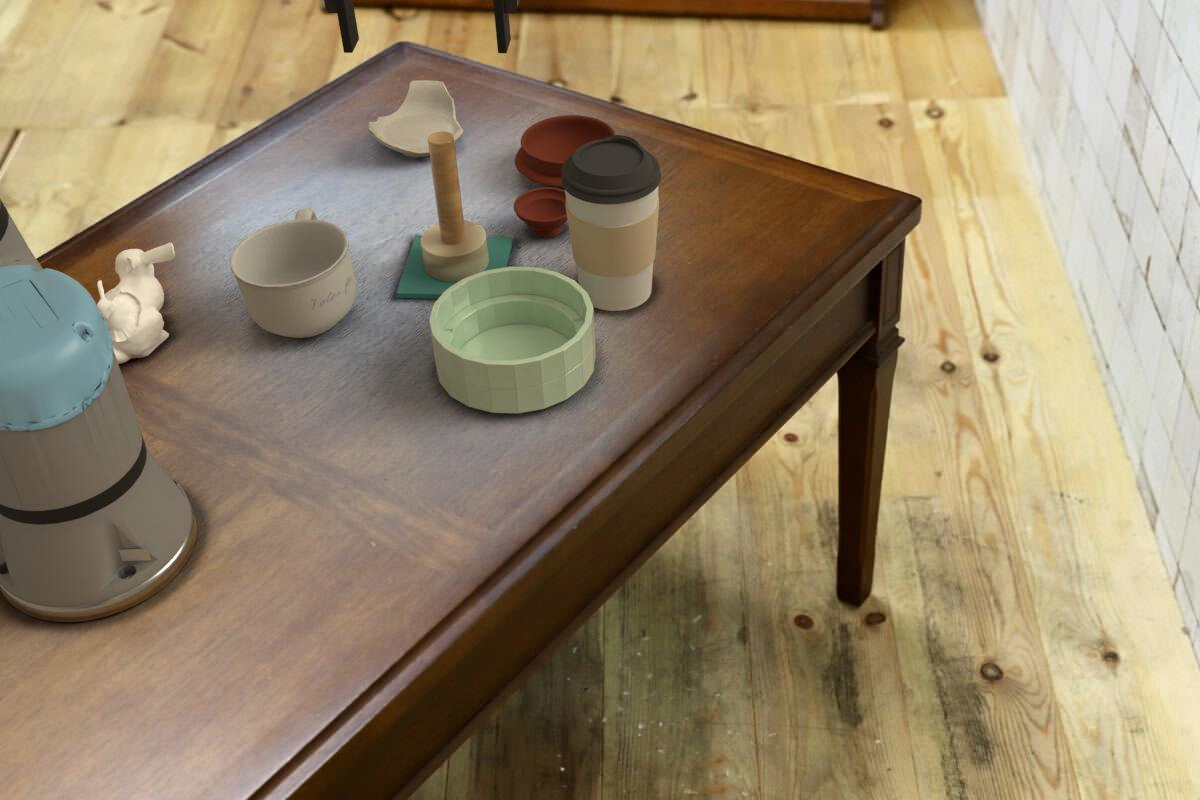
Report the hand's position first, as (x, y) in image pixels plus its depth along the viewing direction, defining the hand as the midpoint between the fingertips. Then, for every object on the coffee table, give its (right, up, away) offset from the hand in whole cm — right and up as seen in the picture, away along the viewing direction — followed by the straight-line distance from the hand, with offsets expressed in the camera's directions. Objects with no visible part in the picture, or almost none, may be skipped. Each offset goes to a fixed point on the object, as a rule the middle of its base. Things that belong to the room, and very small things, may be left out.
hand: (427, 46), depth 121 cm
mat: (+1, -18, +15) cm, 24 cm away
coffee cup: (+17, -21, +12) cm, 29 cm away
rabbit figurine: (-27, -25, +9) cm, 38 cm away
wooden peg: (+1, -17, +15) cm, 23 cm away
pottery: (+11, -9, +25) cm, 29 cm away
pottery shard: (-5, -2, +34) cm, 35 cm away
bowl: (+8, -28, +3) cm, 29 cm away
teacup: (-13, -22, +11) cm, 28 cm away
